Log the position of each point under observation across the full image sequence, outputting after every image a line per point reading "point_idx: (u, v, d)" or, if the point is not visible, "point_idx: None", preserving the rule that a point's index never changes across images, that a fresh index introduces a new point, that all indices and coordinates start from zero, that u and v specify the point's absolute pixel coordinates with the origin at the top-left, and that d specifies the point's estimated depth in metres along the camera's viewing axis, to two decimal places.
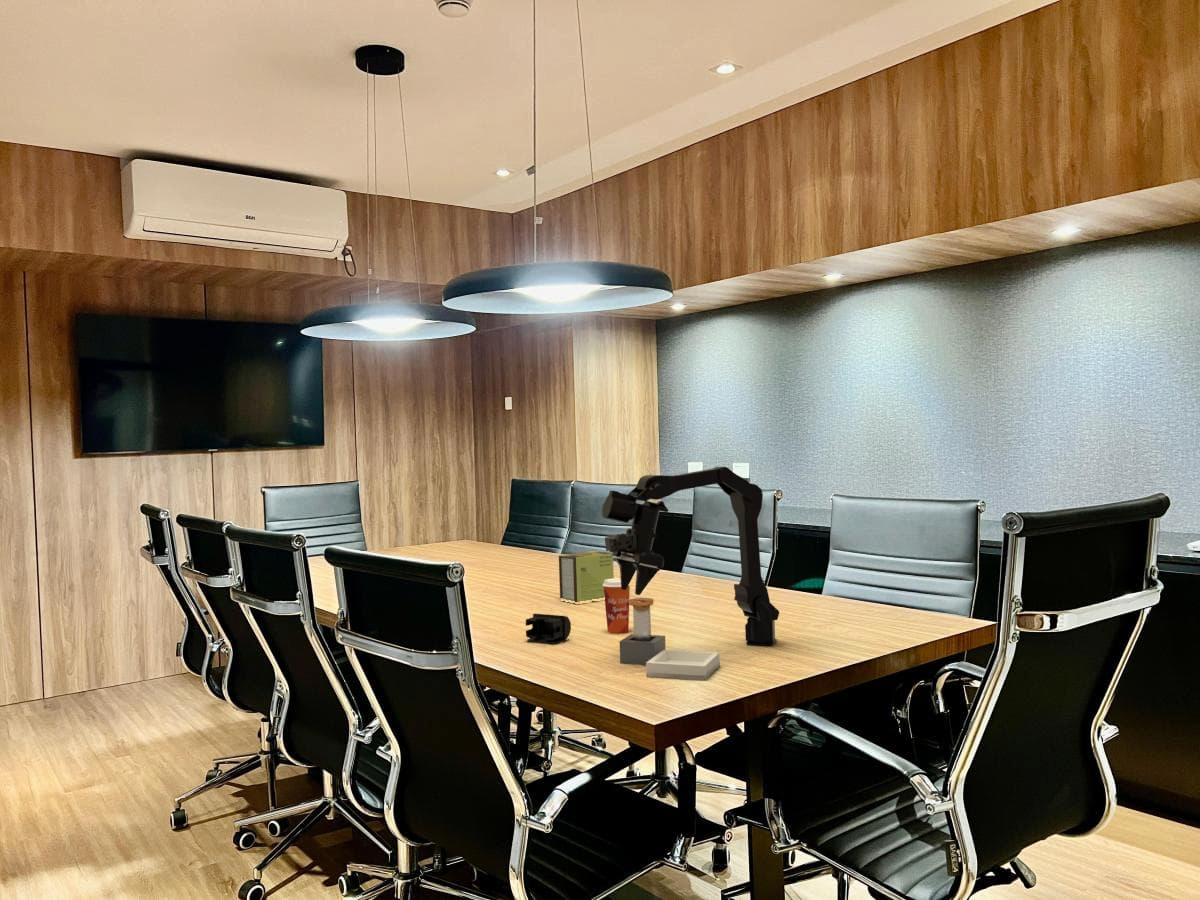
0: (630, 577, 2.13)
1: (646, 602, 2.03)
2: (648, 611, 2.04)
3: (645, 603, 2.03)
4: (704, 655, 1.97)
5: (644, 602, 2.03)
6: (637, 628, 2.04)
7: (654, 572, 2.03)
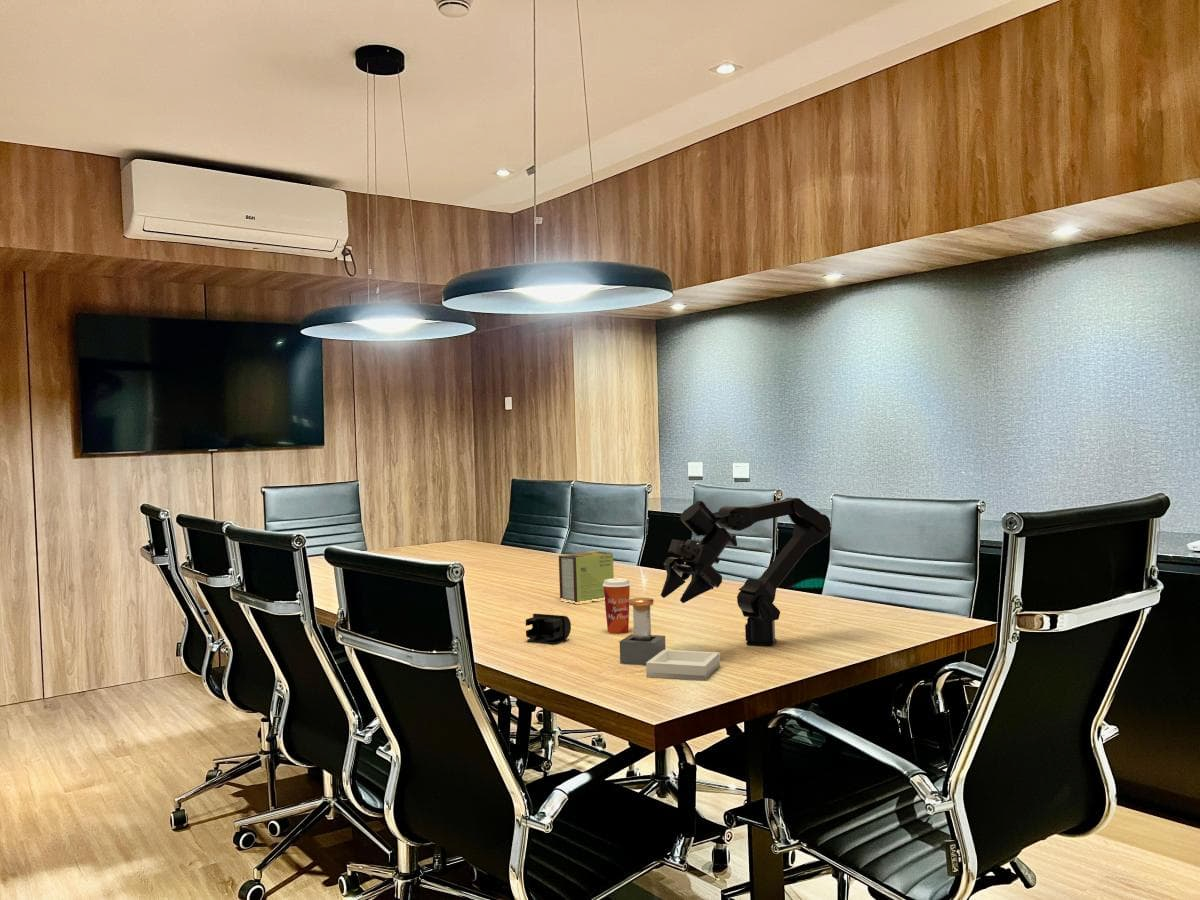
0: (672, 589, 2.14)
1: (646, 602, 2.03)
2: (648, 611, 2.04)
3: (645, 603, 2.03)
4: (704, 655, 1.97)
5: (644, 602, 2.03)
6: (637, 628, 2.04)
7: (706, 589, 2.05)
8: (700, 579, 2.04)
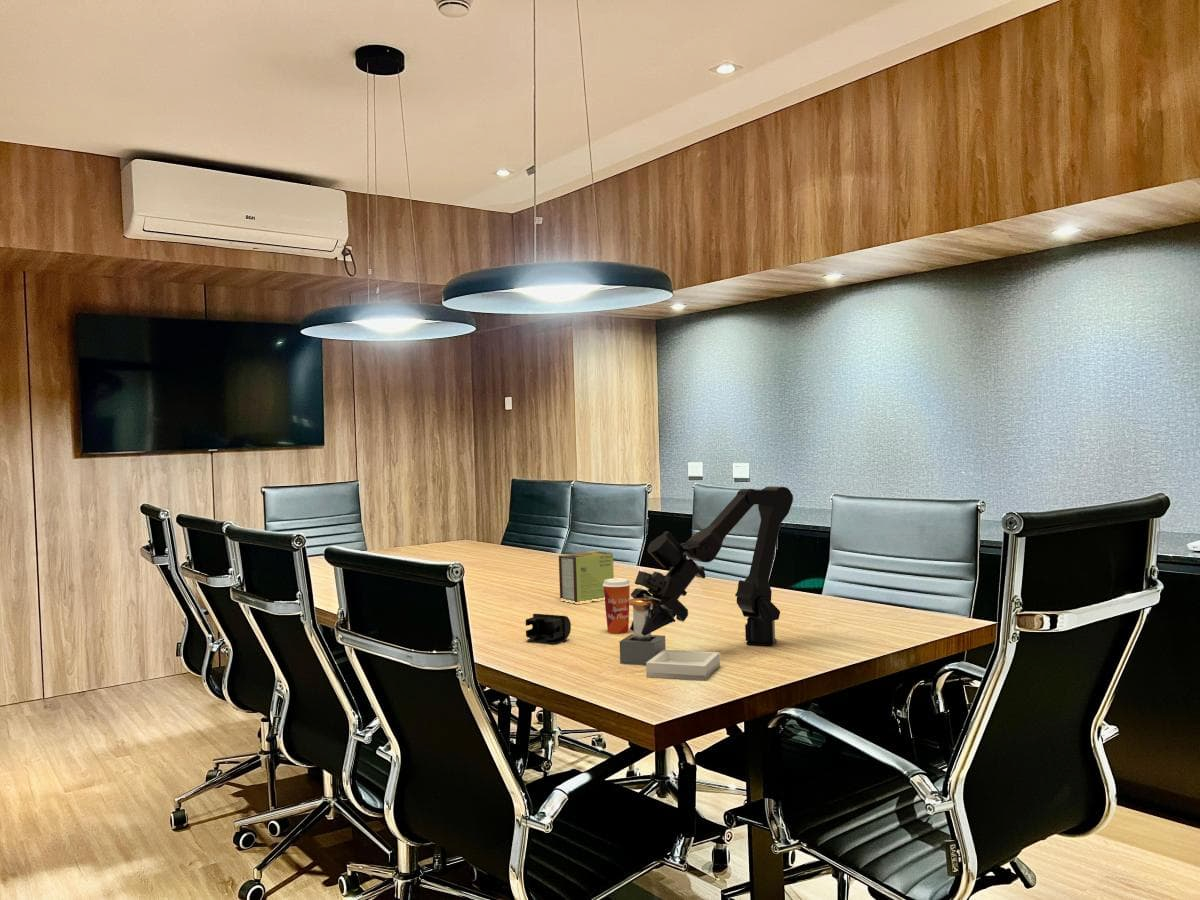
0: None
1: (646, 602, 2.03)
2: (648, 611, 2.04)
3: (645, 603, 2.03)
4: (704, 655, 1.97)
5: (644, 602, 2.03)
6: (637, 628, 2.04)
7: (668, 621, 2.03)
8: (662, 611, 2.02)
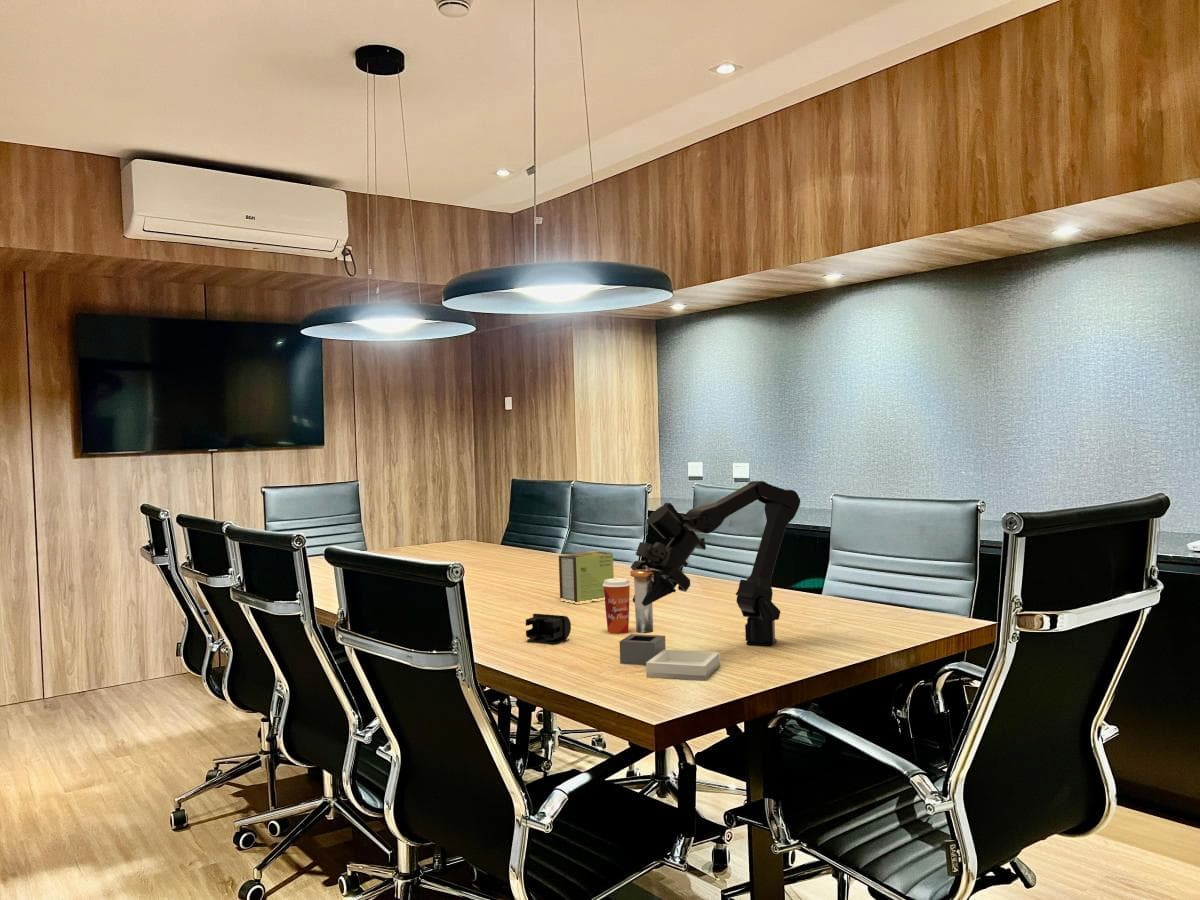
0: None
1: (647, 573, 2.02)
2: (649, 582, 2.03)
3: (646, 574, 2.02)
4: (704, 655, 1.97)
5: (645, 573, 2.02)
6: (639, 600, 2.03)
7: (668, 592, 2.03)
8: (662, 582, 2.02)
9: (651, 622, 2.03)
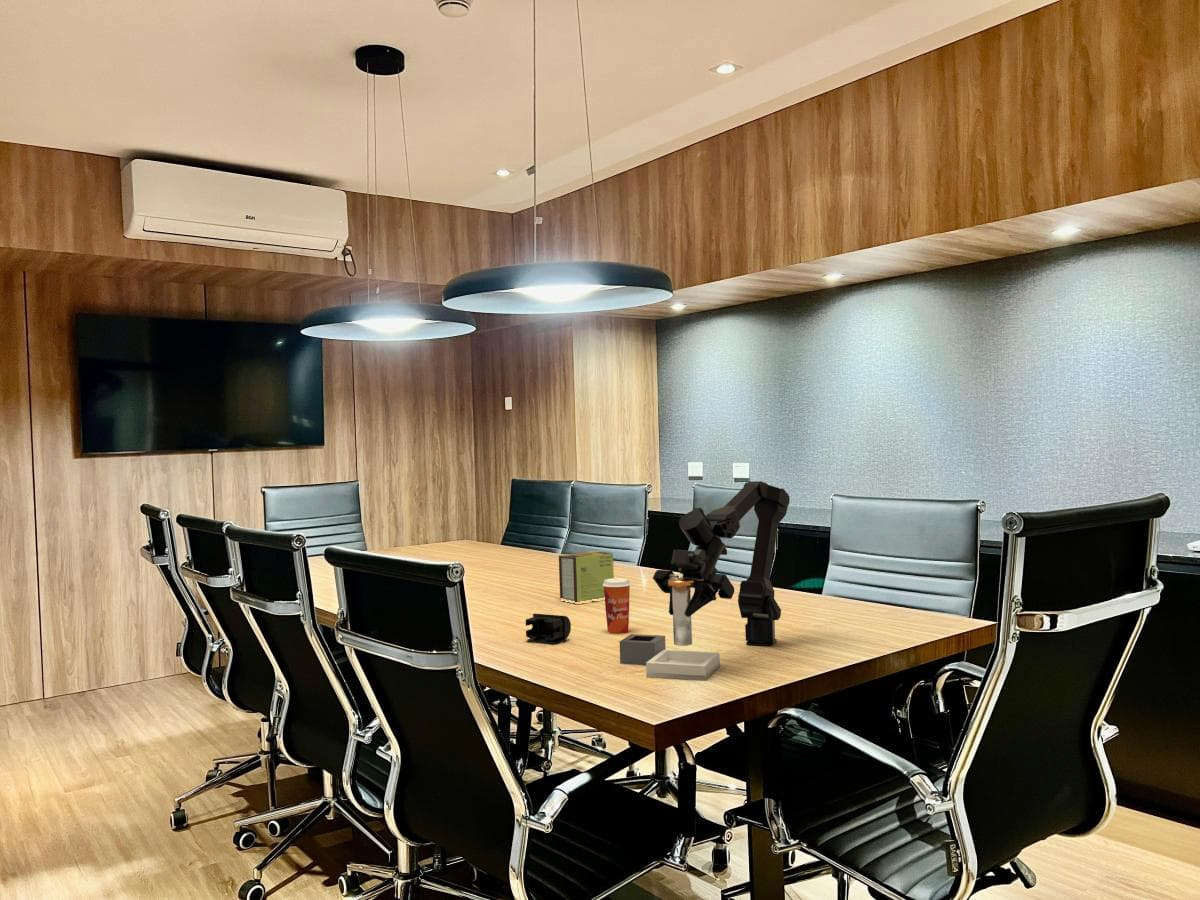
0: None
1: (691, 582, 1.92)
2: (690, 591, 1.93)
3: (690, 583, 1.91)
4: (704, 655, 1.97)
5: (689, 582, 1.91)
6: (681, 611, 1.92)
7: (708, 600, 1.94)
8: (704, 590, 1.93)
9: (691, 633, 1.93)
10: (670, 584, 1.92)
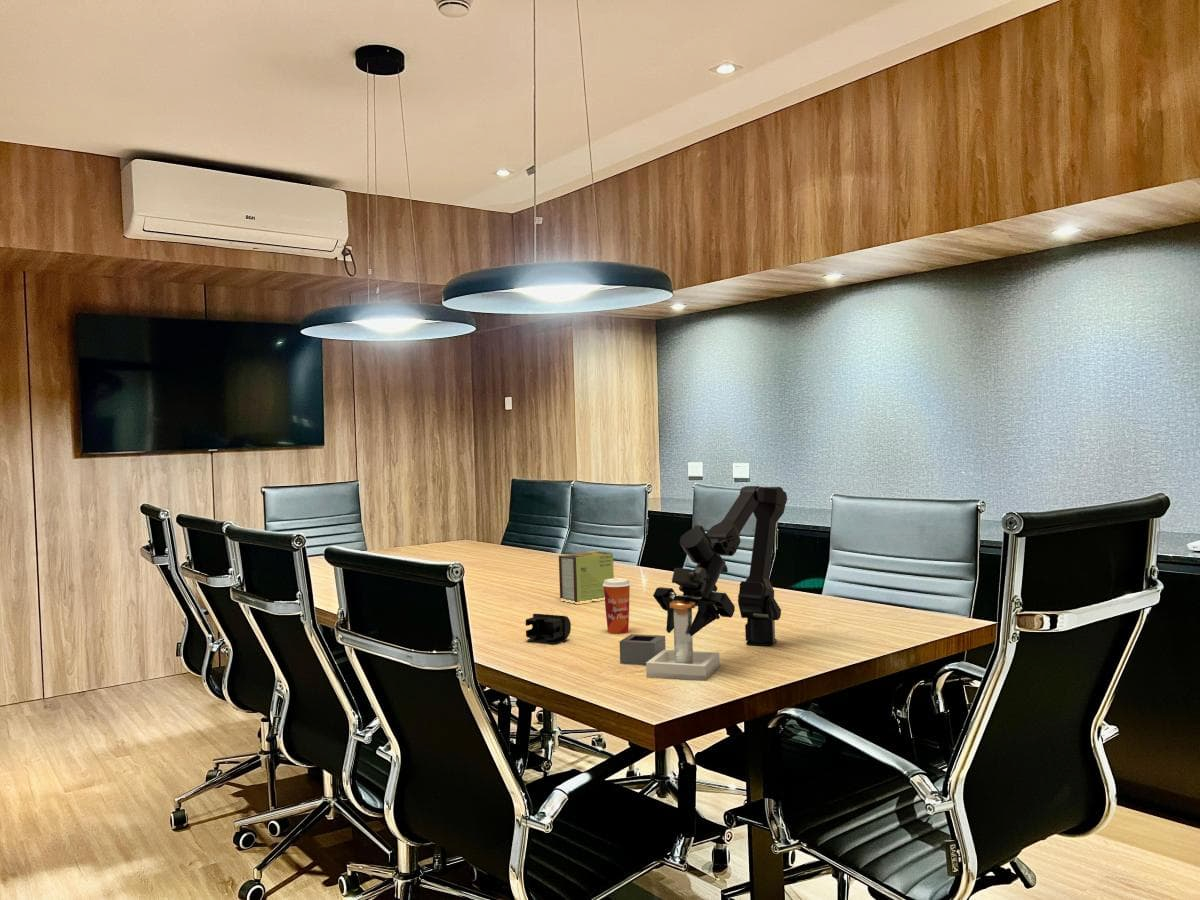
0: None
1: (692, 604, 1.92)
2: (691, 614, 1.93)
3: (691, 605, 1.92)
4: (704, 655, 1.97)
5: (690, 604, 1.92)
6: (682, 633, 1.92)
7: (712, 619, 1.94)
8: (708, 609, 1.92)
9: (692, 656, 1.93)
10: (671, 606, 1.92)
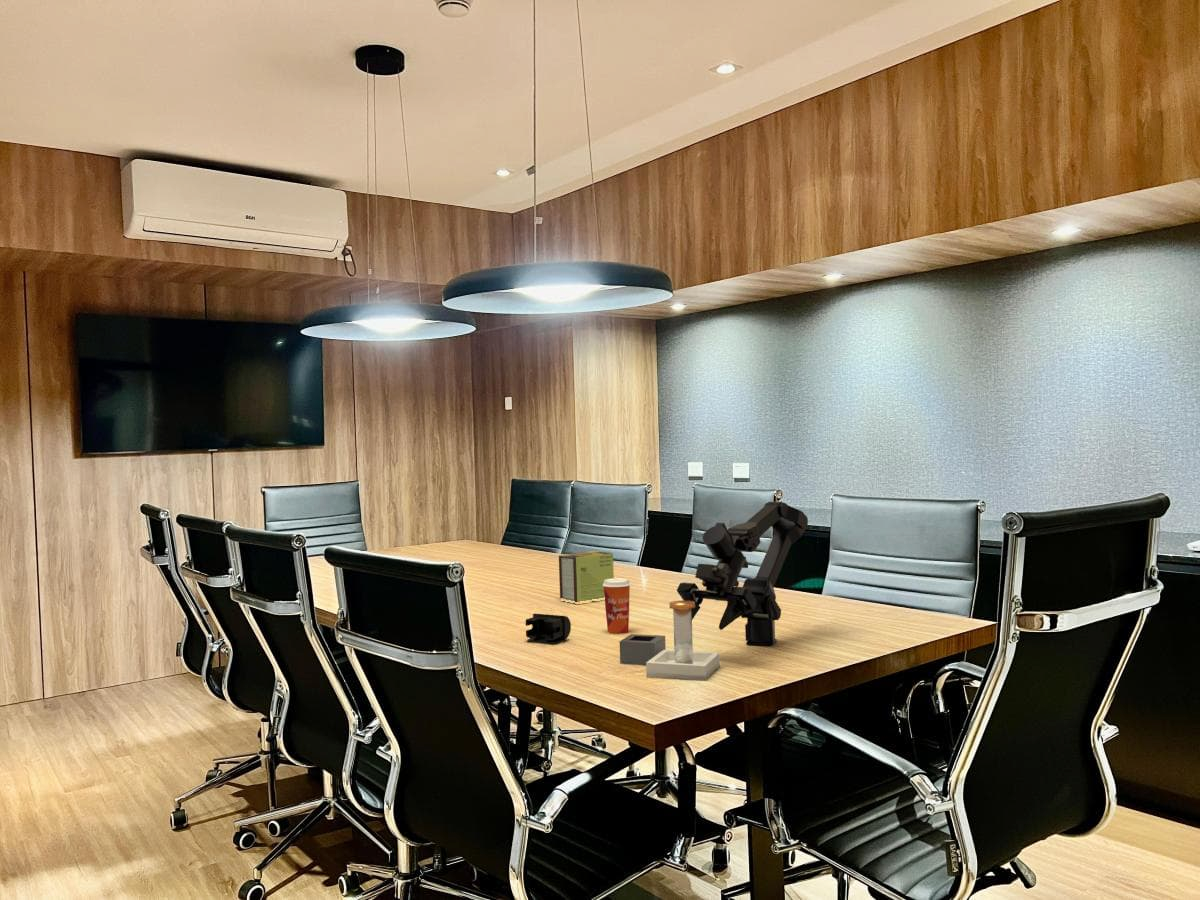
0: (693, 616, 2.05)
1: (692, 604, 1.92)
2: (691, 614, 1.93)
3: (691, 605, 1.92)
4: (704, 655, 1.97)
5: (690, 604, 1.92)
6: (682, 633, 1.92)
7: (740, 613, 2.00)
8: (737, 604, 1.98)
9: (692, 656, 1.93)
10: (671, 607, 1.92)
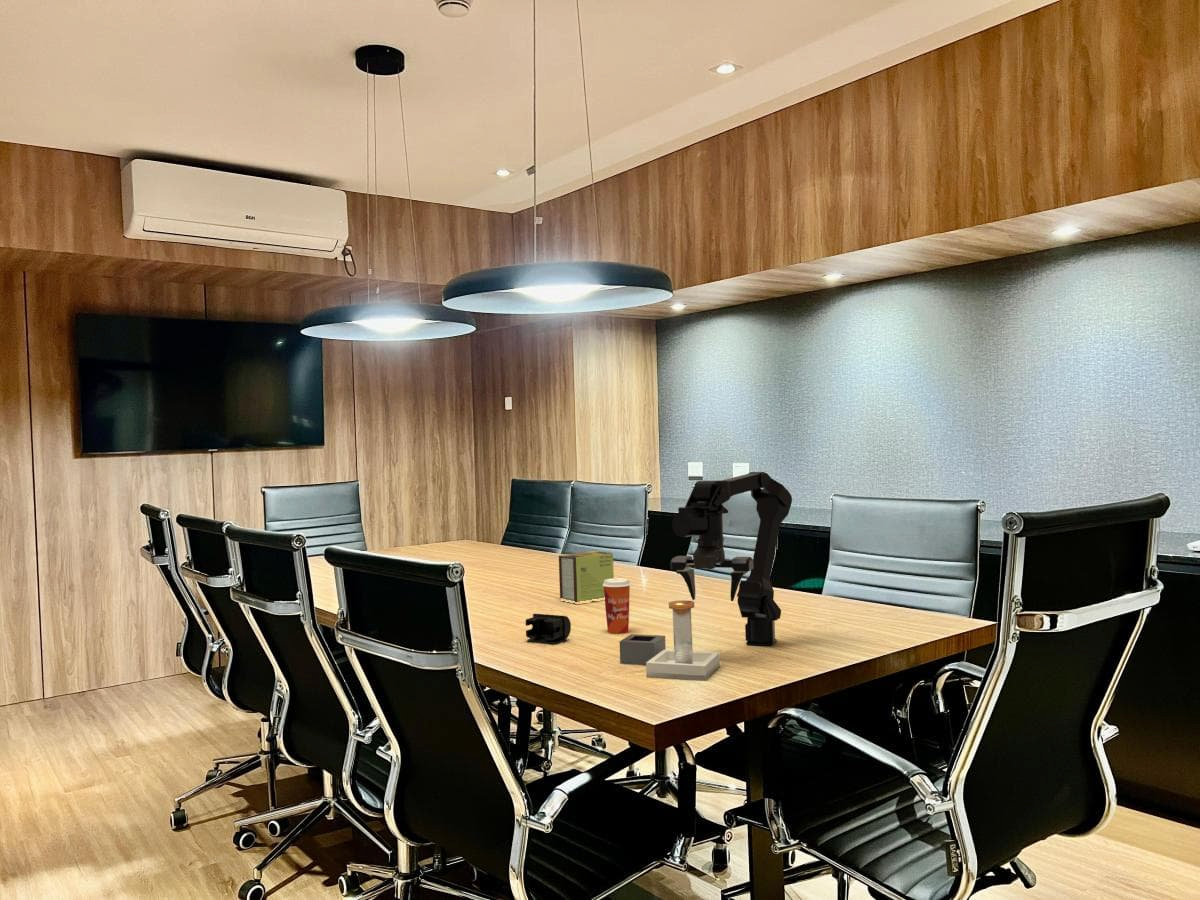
0: (694, 585, 2.10)
1: (691, 604, 1.92)
2: (690, 614, 1.93)
3: (690, 605, 1.92)
4: (704, 655, 1.97)
5: (689, 604, 1.92)
6: (681, 633, 1.92)
7: (741, 574, 2.07)
8: None
9: (692, 656, 1.93)
10: (671, 607, 1.92)
